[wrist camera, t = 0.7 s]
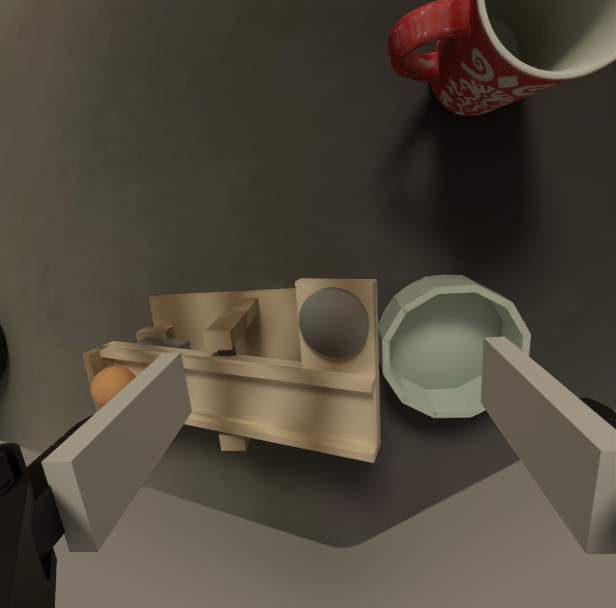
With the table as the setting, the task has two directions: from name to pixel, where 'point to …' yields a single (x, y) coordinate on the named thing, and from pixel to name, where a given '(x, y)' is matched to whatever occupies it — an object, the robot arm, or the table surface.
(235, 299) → the stand
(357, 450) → the lever
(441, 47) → the mug
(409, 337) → the bowl
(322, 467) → the table surface
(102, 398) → the ball
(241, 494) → the table surface
